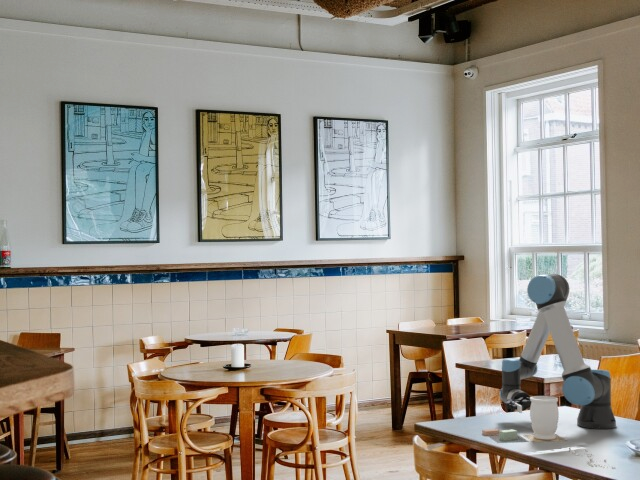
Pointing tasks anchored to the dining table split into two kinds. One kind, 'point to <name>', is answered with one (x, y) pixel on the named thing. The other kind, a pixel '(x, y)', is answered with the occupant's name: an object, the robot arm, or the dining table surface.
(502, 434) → the sage brick
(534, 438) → the sand pile
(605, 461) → the scattered white crumbs
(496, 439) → the slate board
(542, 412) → the jar
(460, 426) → the dining table surface
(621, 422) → the dining table surface
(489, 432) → the terracotta brick
